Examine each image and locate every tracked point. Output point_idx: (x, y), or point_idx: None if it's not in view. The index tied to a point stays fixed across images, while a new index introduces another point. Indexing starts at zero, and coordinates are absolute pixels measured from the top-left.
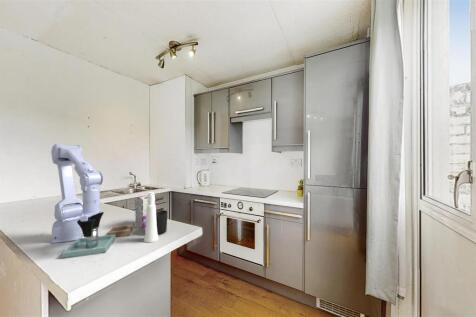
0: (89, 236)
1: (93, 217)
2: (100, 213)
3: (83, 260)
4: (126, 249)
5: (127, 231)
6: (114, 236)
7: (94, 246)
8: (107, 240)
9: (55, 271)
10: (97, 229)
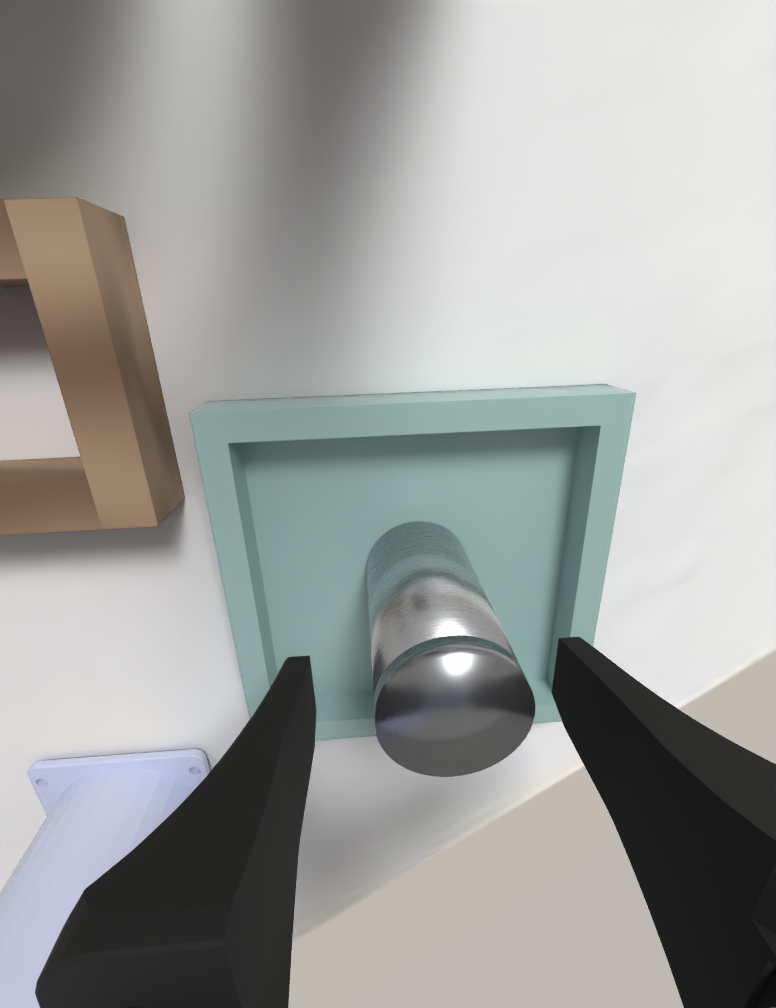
0: (582, 645)
1: (279, 935)
2: (230, 967)
3: (677, 523)
4: (624, 134)
5: (92, 238)
6: (243, 408)
7: (457, 539)
8: (288, 471)
9: (759, 629)
10: (464, 640)
